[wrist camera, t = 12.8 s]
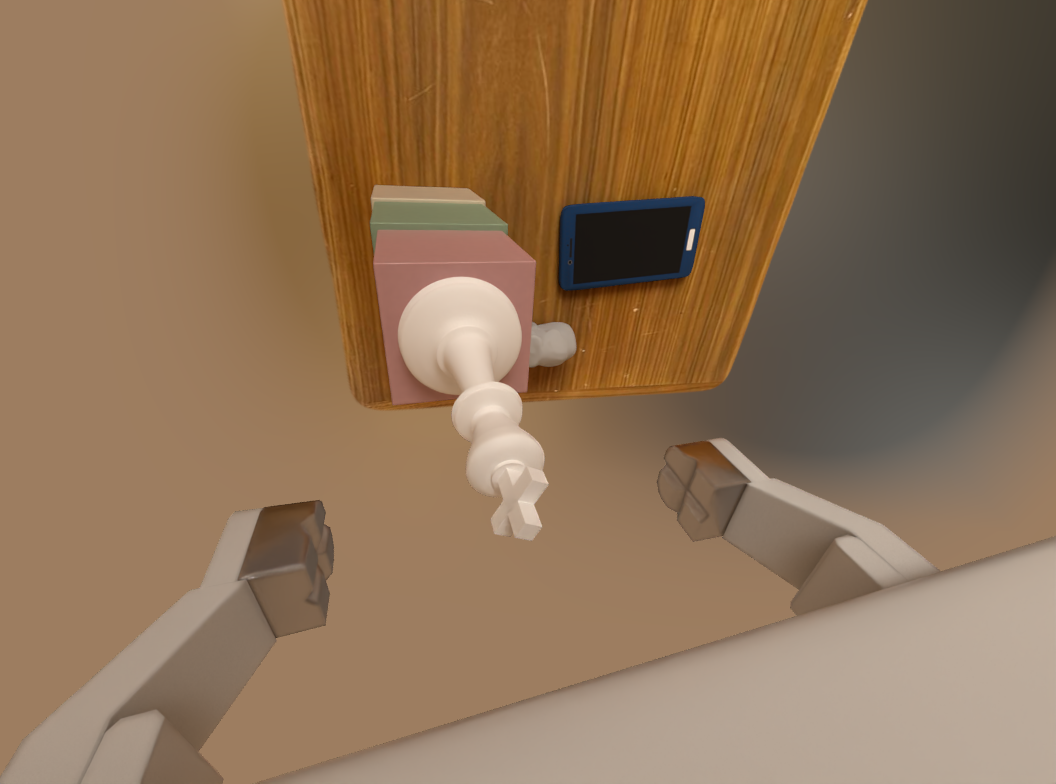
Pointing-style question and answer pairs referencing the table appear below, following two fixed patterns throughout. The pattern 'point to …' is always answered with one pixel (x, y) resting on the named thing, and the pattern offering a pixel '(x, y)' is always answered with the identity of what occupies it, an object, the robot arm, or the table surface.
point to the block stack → (442, 267)
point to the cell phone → (628, 241)
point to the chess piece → (478, 390)
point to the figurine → (551, 344)
